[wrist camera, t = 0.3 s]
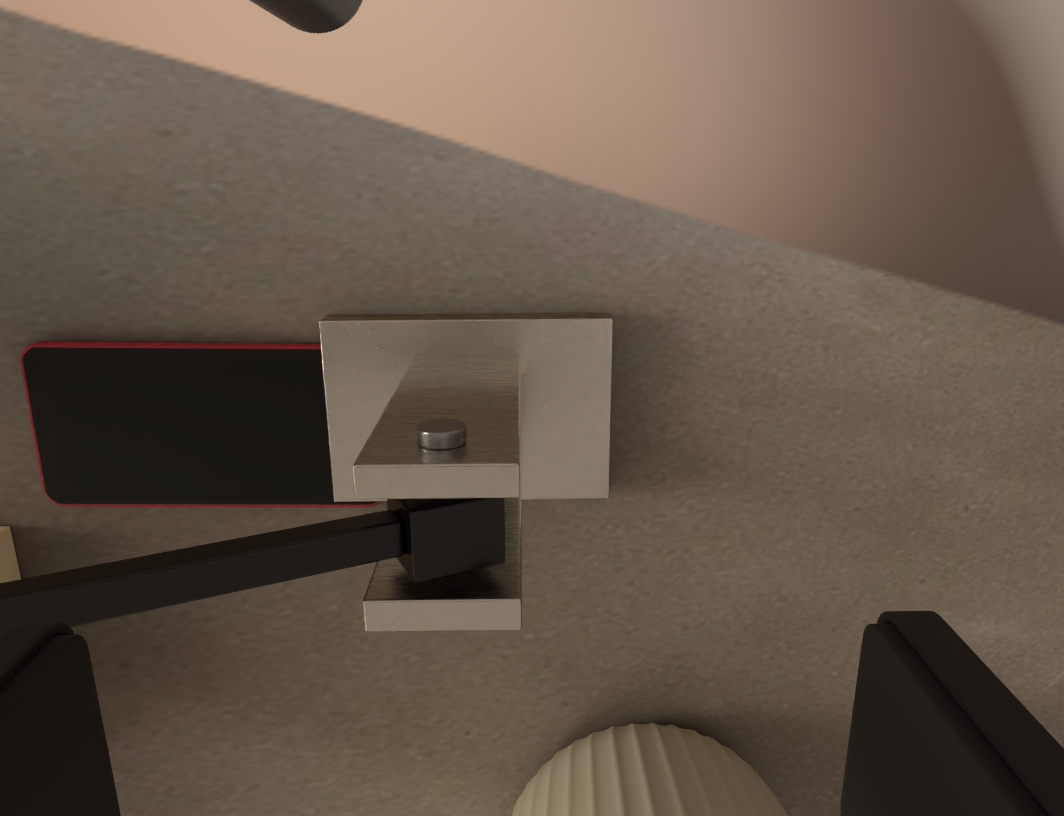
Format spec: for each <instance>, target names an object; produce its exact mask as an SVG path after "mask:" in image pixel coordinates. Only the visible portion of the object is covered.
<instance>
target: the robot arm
mask: <svg viewBox="0 0 1064 816" xmlns="http://www.w3.org/2000/svg"><path fill="white" fill-rule="evenodd" d="M0 816H121V815H120V809H119V804H118V799H117V794H116V788H115V783H114V778H113V773H112V768H111V763H110V758H109V753H108V747H107V742H106V737H105V732H104V727H103V722H102V717H101V711H100V706H99V701H98V696H97V691H96V686H95V681H94V675H93V670H92V665H91V660H90V655H89V650H88V646H87V643H86V640H85V639H84V638H83V637H82V636H80V635H74V633H73V630H72V629H71V628H70V626H69V625H67V624H65V623H18V624H11V625H9V626H8V627H6V628H5V629H3V630H2V631H1V632H0ZM841 816H1064V749H1063V748H1062V747H1061V745H1060V744H1059V743H1058V742H1057V741H1056V740H1055V739H1054V738H1053V737H1052V736H1051V735H1050V734H1049V733H1048V731H1047V730H1046V729H1045V728H1044V727H1043V726H1042V725H1041V724H1040V723H1039V722H1038V721H1037V720H1036V719H1035V718H1034V716H1033V715H1032V714H1031V713H1030V712H1029V711H1028V710H1027V709H1026V708H1025V707H1024V706H1023V705H1022V704H1021V702H1020V701H1019V700H1018V699H1017V698H1016V697H1015V696H1014V695H1013V694H1012V693H1011V692H1010V691H1009V690H1008V688H1007V687H1006V686H1005V685H1004V684H1003V683H1002V682H1001V681H1000V680H999V679H998V678H997V677H996V676H995V674H994V673H993V672H992V671H991V670H990V669H989V668H988V667H987V666H986V665H985V664H984V663H983V662H982V661H981V659H980V658H979V657H978V656H977V655H976V654H975V653H974V652H973V651H972V650H971V649H970V648H969V647H968V645H967V644H966V643H965V642H964V641H963V640H962V639H961V638H960V637H959V636H958V635H957V634H956V633H955V631H954V630H953V629H952V628H951V627H950V626H949V625H948V624H947V623H946V622H945V621H944V620H943V619H942V618H941V616H939V615H938V614H937V613H935V612H933V611H886V612H884V613H882V614H881V615H880V617H879V619H878V621H877V624H869V625H867V626H866V628H865V630H864V634H863V639H862V647H861V654H860V662H859V669H858V677H857V684H856V692H855V699H854V707H853V714H852V722H851V729H850V736H849V744H848V751H847V759H846V766H845V774H844V781H843V789H842V796H841Z"/></svg>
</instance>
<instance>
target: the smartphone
mask: <svg viewBox="0 0 1064 816" xmlns="http://www.w3.org/2000/svg"><path fill="white" fill-rule="evenodd" d="M21 368H22V374H23V379H24V385H25V390H26V396H27V402H28V407H29V413H30V418H31V424H32V430H33V435H34V441H35V446H36V452H37V458H38V463H39V469H40V474H41V480H42V486H43V490H44V492H45V494H46V495H47V497H48V498H49V499H50V500H51V501H53V502H54V503H56V504H58V505H61V506H107V507H371V506H375V505H377V504H379V503H380V502H381V501H354V502H335V501H334V496H333V484H332V472H331V460H330V448H329V437H328V425H327V413H326V401H325V389H324V377H323V365H322V353H321V343H172V342H37V343H34V344H31V345H29V346H28V347H26V348H25V349H24V351H23V352H22V355H21Z"/></svg>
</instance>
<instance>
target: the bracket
mask: <svg viewBox="0 0 1064 816" xmlns="http://www.w3.org/2000/svg"><path fill="white" fill-rule="evenodd" d="M319 330H320V341H321V353H322V365H323V377H324V389H325V401H326V413H327V425H328V437H329V448H330V460H331V472H332V484H333V496H334V501H335V502H354V501H387V499H450V498H504V511H505V563H503V564H499V565H494V566H490V567H486V568H481V569H477V570H473V571H468V572H464V573H460V574H455V575H451V576H447V577H442V578H438V579H434V580H429V581H425V582H421V583H414V582H413V581H412V579H411V578H410V577H409V575H408V574H407V572H406V571H405V569H404V568H403V566H402V565H401V563H400V562H399V560H398V559H397V558H391V559H386V560H382V561H377V564H376V567H375V570H374V572H373V575H372V578H371V581H370V583H369V586H368V589H367V592H366V594H365V597H364V600H363V614H364V627H365V631H367V632H382V631H465V630H520V629H521V627H522V500H546V499H608V498H609V469H610V427H611V385H612V343H613V318H612V317H611V315H610V314H609V313H595V314H471V315H346V316H325V317H324V318H322V319H321V320H320V321H319Z"/></svg>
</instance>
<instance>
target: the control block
mask: <svg viewBox="0 0 1064 816" xmlns="http://www.w3.org/2000/svg"><path fill="white" fill-rule="evenodd" d="M20 579H21V576H20V571H19V567H18V562H17V557H16V552H15V548H14V543H13V538H12V534H11V529H10V526H0V583H4V582H9V581H14V580H20Z"/></svg>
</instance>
